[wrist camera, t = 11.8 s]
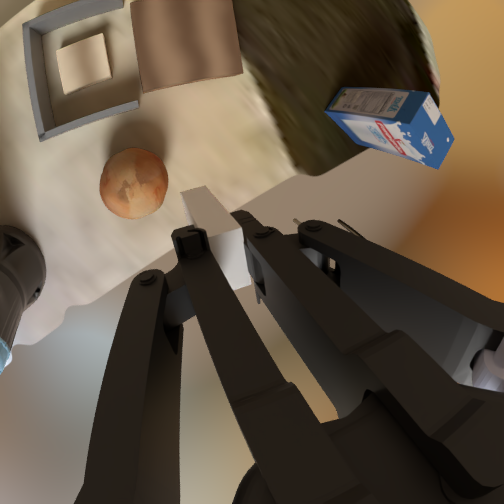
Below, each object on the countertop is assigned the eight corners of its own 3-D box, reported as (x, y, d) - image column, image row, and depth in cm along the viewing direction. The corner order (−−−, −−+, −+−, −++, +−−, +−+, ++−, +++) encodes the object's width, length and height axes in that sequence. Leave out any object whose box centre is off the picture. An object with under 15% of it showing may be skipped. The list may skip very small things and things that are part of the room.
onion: (143, 218, 46) (145, 244, 37) (91, 186, 40) (80, 206, 32) (178, 167, 44) (188, 182, 36) (126, 132, 39) (122, 138, 30)
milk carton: (324, 111, 48) (409, 124, 31) (341, 86, 47) (428, 92, 30) (356, 144, 53) (438, 169, 37) (372, 120, 52) (454, 139, 35)
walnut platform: (143, 93, 37) (143, 91, 34) (130, 11, 30) (130, 2, 26) (234, 75, 40) (243, 73, 37) (222, -3, 33) (230, -11, 30)
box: (51, 137, 34) (39, 142, 29) (35, 32, 25) (22, 23, 20) (139, 107, 38) (138, 107, 33) (122, 2, 29) (121, -12, 24)
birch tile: (68, 94, 33) (64, 93, 30) (60, 54, 29) (55, 50, 27) (112, 78, 34) (110, 75, 32) (104, 37, 31) (102, 32, 28)
